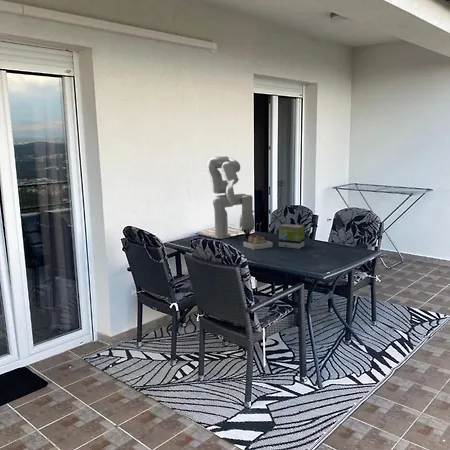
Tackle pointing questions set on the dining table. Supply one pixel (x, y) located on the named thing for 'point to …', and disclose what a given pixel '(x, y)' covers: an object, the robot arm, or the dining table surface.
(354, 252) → the dining table surface
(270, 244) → the bay
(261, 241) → the cart
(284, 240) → the tea box
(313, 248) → the dining table surface
